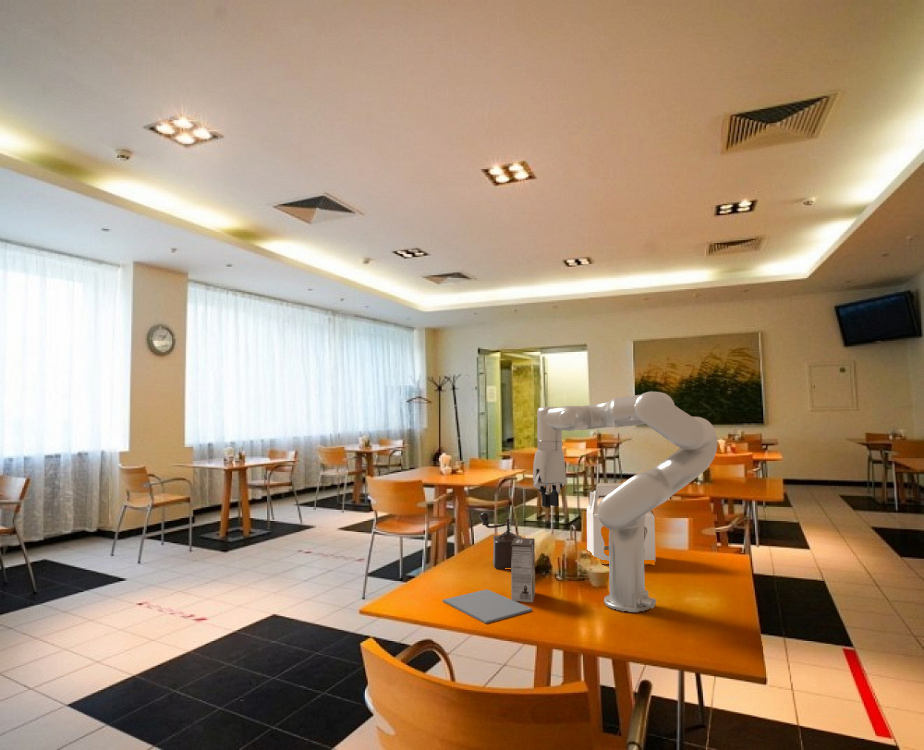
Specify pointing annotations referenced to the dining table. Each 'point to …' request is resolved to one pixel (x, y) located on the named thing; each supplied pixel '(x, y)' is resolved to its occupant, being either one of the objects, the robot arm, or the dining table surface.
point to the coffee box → (523, 569)
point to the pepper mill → (500, 543)
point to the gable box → (594, 525)
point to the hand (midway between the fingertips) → (550, 506)
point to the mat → (487, 606)
